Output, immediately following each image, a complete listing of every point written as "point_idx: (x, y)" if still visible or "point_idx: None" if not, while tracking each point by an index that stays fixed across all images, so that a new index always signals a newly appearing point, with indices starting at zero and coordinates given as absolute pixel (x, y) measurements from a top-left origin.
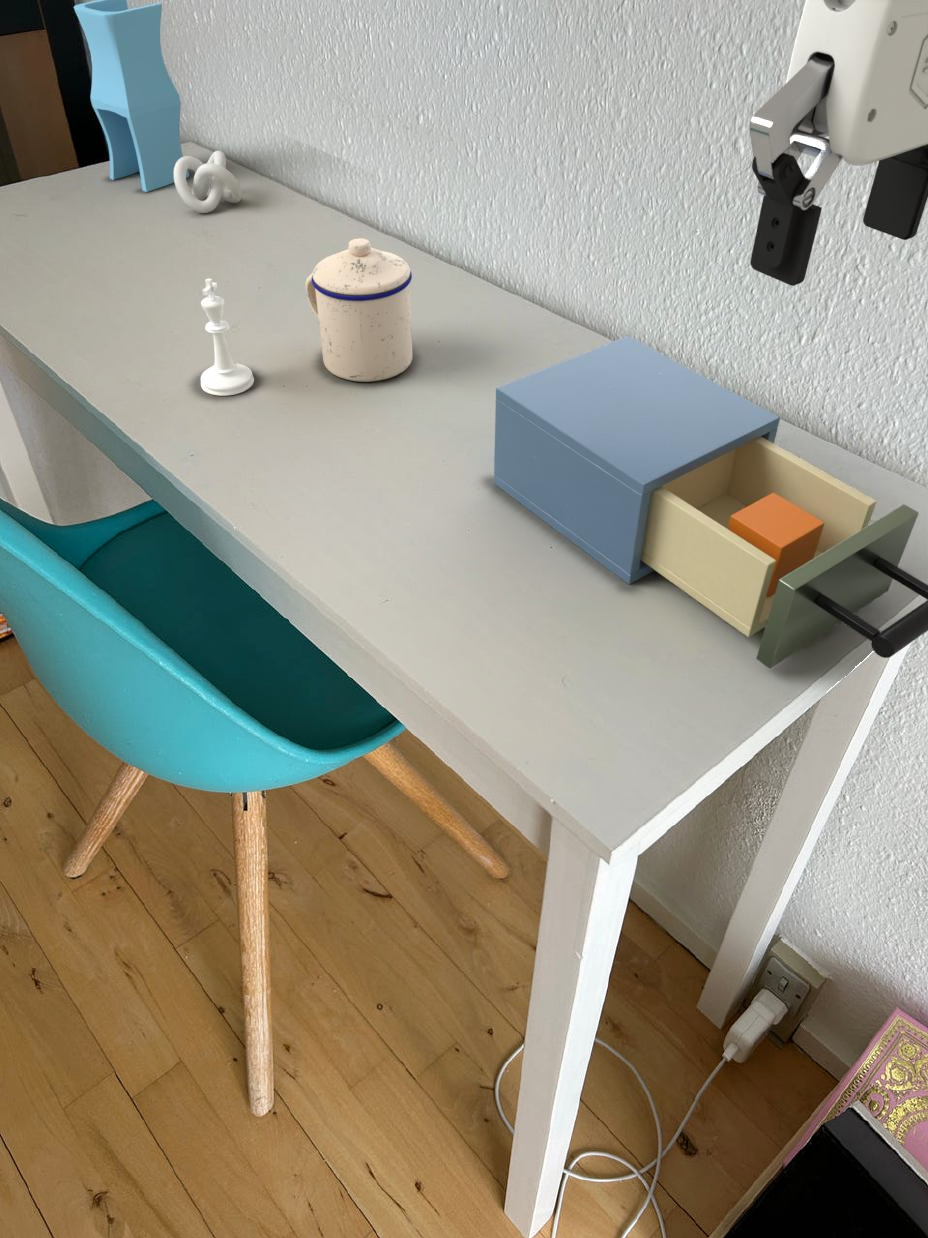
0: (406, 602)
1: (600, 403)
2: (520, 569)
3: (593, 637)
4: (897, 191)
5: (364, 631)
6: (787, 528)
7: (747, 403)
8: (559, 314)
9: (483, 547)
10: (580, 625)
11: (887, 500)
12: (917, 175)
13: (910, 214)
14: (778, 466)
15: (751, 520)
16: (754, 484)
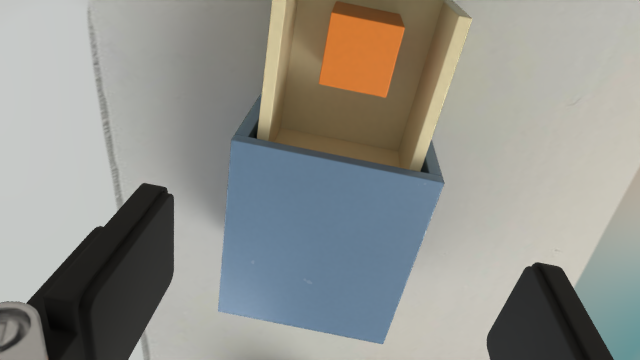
0: (550, 239)
1: (341, 275)
2: (464, 201)
3: (509, 113)
4: (134, 295)
5: (597, 242)
6: (369, 39)
7: (234, 177)
8: (146, 349)
9: (456, 235)
10: (500, 130)
11: (137, 2)
12: (102, 305)
13: (150, 228)
14: (275, 102)
15: (380, 77)
16: (279, 110)
